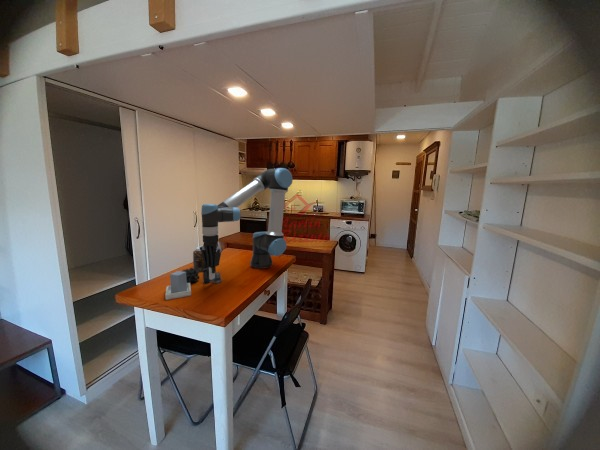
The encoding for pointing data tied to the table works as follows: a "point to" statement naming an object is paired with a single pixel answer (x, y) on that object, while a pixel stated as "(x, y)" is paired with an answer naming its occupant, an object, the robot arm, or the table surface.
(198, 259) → the jar
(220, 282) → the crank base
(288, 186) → the robot arm
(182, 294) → the tray
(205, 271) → the crank
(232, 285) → the table surface
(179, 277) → the block
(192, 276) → the fruit
